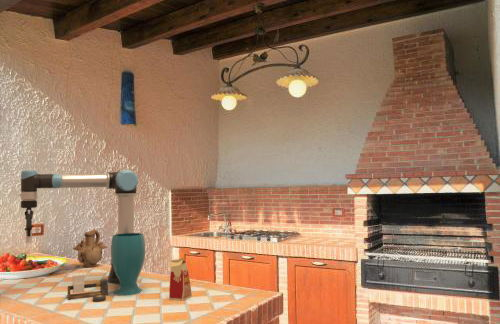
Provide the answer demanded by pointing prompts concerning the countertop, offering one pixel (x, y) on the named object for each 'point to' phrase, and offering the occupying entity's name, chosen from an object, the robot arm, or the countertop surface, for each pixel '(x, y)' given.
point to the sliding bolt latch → (103, 291)
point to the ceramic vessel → (90, 249)
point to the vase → (128, 261)
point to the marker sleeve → (78, 283)
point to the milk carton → (179, 281)
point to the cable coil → (99, 298)
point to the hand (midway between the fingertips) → (28, 241)
